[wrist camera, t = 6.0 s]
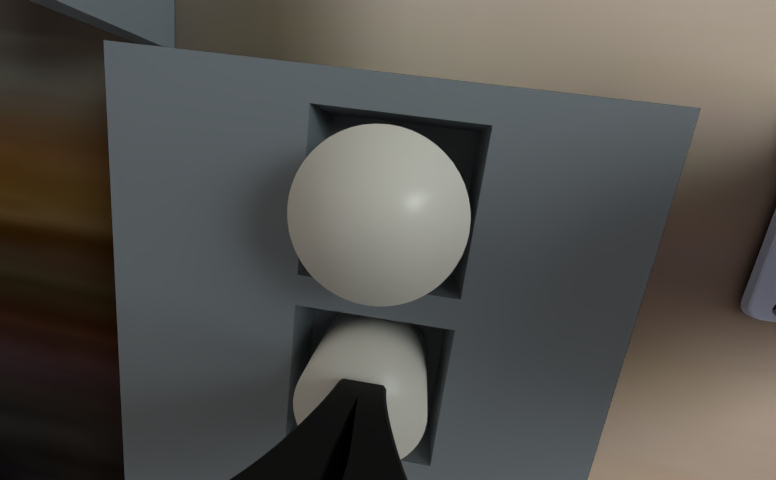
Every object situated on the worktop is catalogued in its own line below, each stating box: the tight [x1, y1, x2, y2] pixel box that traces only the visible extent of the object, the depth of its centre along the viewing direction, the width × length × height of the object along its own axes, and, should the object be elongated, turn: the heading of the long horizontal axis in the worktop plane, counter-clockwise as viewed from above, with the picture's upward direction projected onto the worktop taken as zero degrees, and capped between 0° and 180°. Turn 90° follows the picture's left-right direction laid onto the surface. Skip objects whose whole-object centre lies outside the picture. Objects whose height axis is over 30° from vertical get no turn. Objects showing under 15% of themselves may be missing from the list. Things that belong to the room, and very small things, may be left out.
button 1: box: [287, 124, 471, 307], centre depth 10 cm, size 4×4×3 cm
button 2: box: [293, 313, 427, 460], centre depth 12 cm, size 4×4×3 cm
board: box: [103, 40, 701, 480], centre depth 14 cm, size 16×25×3 cm, turn 173°
